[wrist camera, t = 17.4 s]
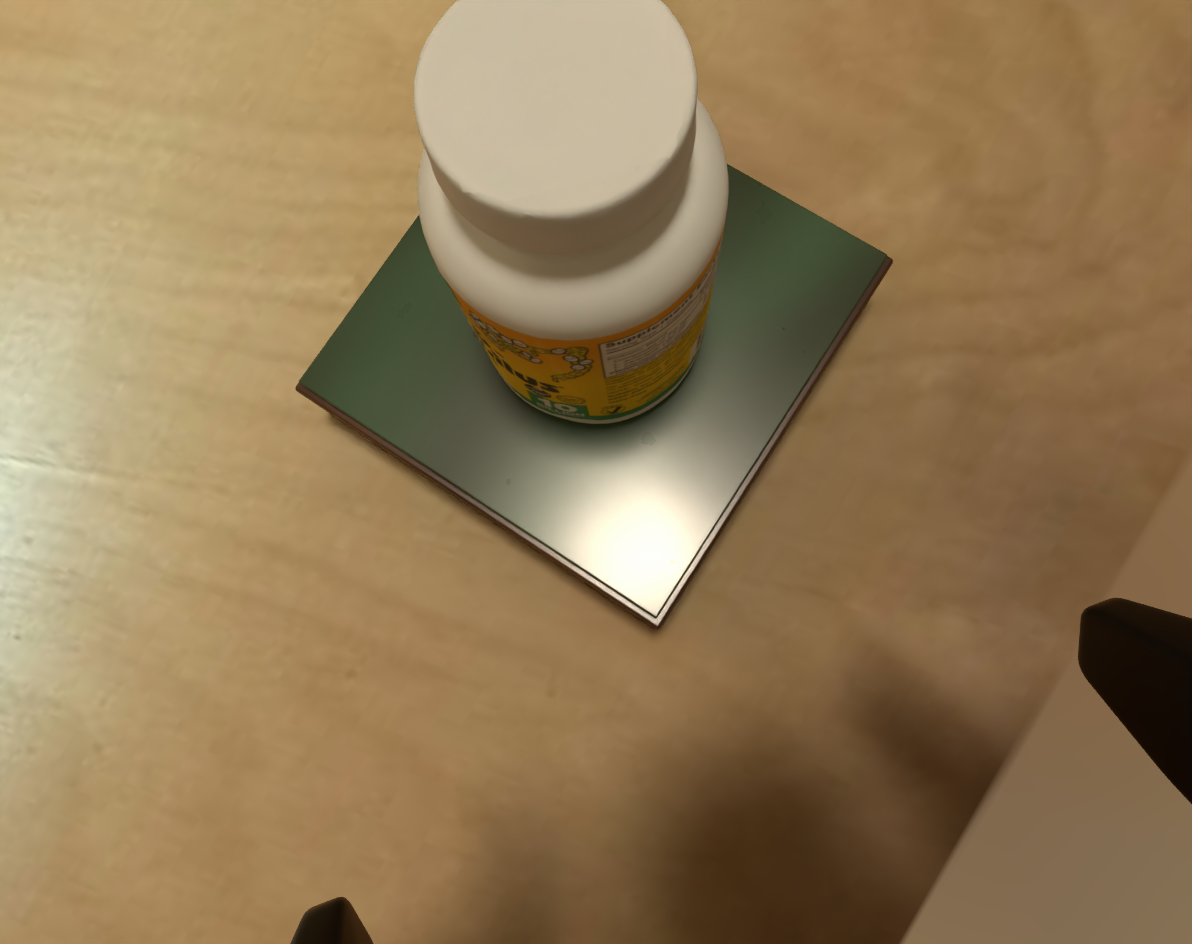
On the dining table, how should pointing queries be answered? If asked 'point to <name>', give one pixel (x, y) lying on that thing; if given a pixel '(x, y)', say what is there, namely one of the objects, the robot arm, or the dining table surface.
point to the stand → (614, 450)
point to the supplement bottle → (572, 195)
